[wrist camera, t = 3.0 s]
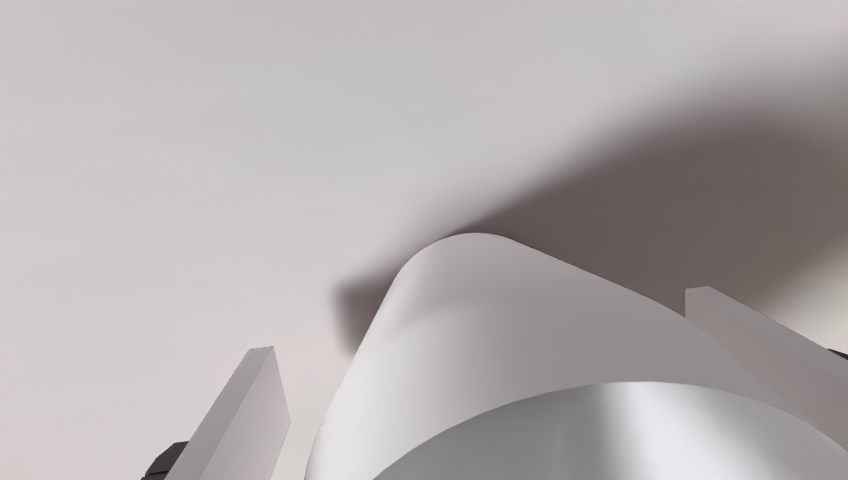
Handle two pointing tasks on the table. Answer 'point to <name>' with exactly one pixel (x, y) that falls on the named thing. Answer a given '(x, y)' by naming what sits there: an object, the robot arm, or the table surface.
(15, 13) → the table surface
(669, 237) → the table surface
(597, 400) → the cup
